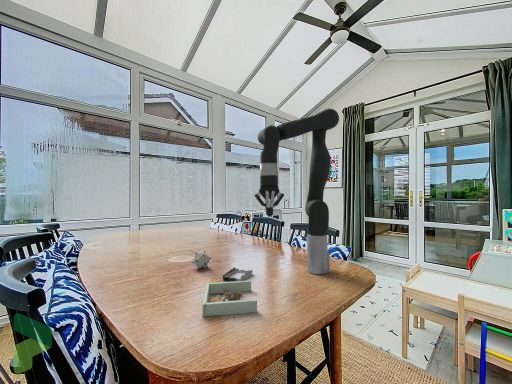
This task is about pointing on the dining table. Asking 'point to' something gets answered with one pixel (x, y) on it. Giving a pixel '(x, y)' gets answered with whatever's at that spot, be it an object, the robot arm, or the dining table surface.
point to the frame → (228, 306)
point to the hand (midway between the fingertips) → (269, 216)
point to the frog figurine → (229, 295)
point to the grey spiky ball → (201, 260)
